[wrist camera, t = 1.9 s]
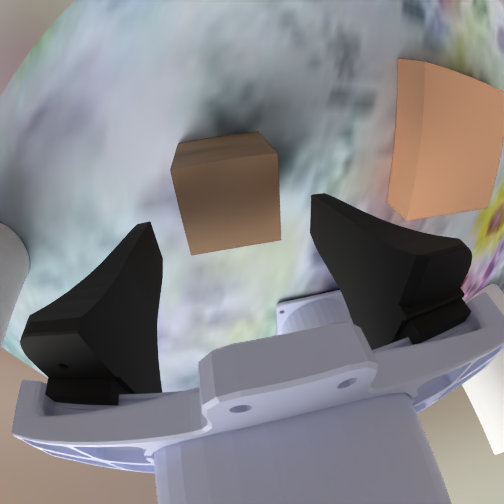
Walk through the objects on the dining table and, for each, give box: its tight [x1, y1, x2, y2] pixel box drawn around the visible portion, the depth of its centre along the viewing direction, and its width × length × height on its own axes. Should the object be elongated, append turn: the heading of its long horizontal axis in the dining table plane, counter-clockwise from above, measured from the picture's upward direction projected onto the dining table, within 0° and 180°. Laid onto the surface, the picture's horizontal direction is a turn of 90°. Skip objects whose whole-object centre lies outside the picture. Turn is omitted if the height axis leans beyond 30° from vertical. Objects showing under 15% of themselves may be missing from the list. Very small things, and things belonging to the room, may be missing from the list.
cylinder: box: [462, 284, 504, 454], centre depth 29 cm, size 17×17×28 cm
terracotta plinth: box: [387, 59, 504, 221], centre depth 17 cm, size 12×12×3 cm
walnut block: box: [170, 131, 281, 255], centre depth 16 cm, size 5×5×5 cm
